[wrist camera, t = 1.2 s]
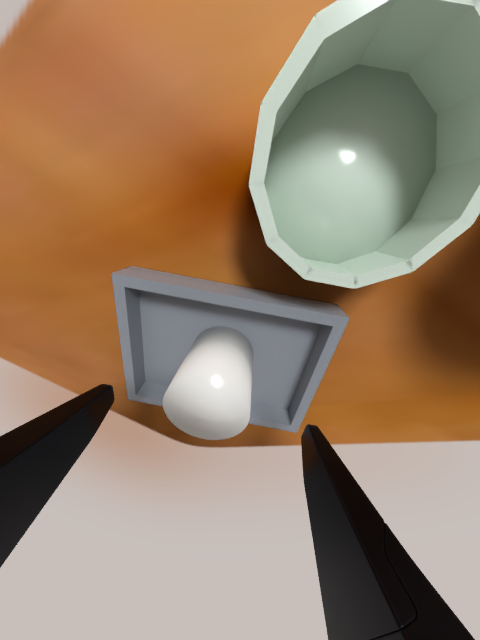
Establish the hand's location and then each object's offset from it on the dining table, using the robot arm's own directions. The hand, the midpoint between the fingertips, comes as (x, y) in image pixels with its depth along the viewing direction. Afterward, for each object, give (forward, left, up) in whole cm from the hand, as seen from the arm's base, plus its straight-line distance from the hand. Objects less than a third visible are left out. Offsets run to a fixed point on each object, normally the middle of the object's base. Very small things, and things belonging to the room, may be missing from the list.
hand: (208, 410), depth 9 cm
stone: (0, 0, -4) cm, 4 cm away
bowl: (-4, -10, -5) cm, 12 cm away
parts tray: (0, 0, -5) cm, 5 cm away
